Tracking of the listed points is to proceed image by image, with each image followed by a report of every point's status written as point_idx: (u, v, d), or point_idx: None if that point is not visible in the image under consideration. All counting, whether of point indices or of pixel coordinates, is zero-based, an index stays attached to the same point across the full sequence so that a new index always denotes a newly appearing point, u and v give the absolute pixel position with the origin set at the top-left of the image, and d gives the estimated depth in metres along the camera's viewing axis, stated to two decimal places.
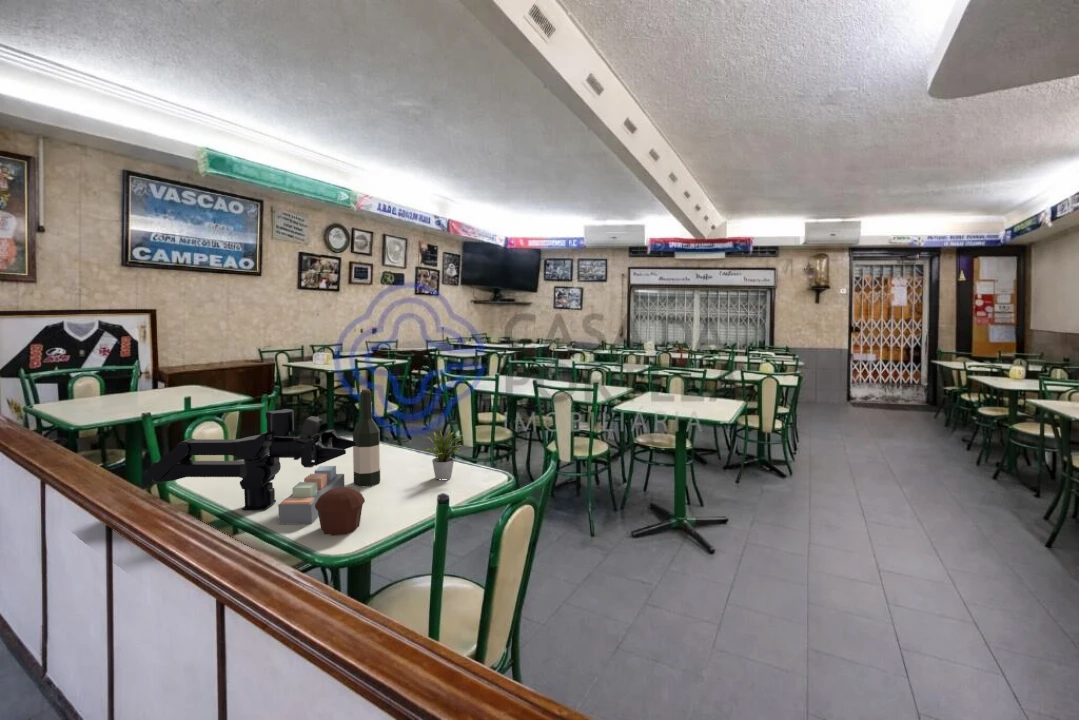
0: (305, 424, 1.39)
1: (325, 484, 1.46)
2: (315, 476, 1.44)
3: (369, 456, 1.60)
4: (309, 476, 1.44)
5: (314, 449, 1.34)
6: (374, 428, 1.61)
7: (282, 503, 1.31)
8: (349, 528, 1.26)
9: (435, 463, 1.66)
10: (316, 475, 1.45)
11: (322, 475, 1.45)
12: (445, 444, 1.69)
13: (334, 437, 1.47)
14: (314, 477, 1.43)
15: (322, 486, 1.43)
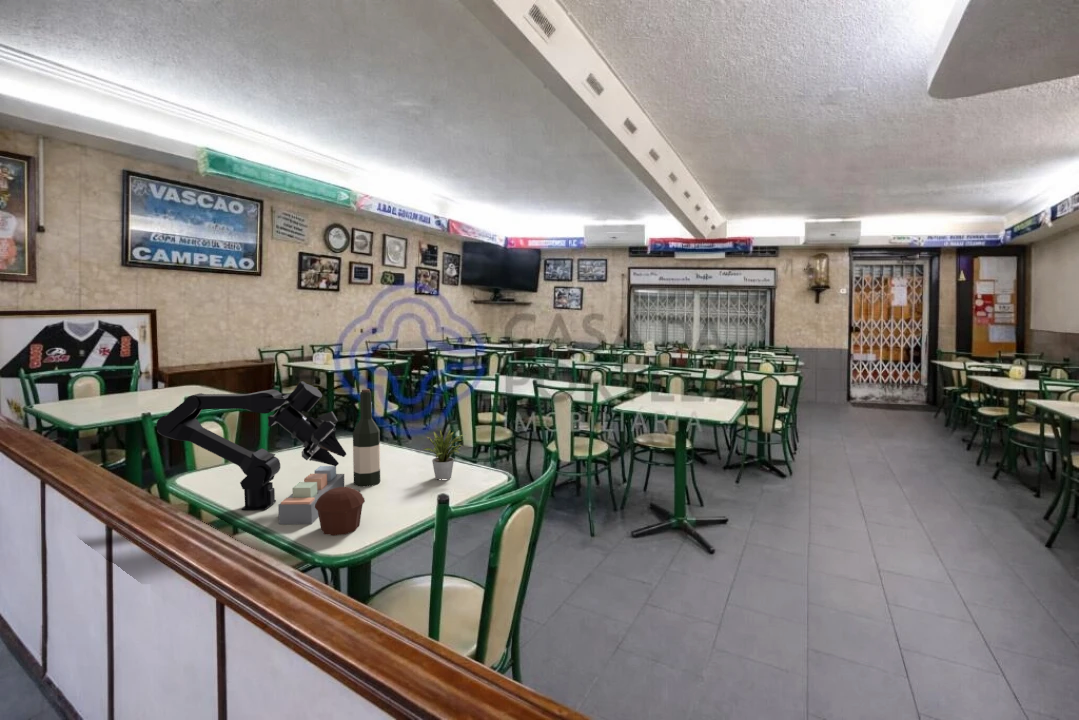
0: (328, 414, 1.45)
1: (325, 484, 1.46)
2: (315, 476, 1.44)
3: (369, 456, 1.60)
4: (309, 476, 1.44)
5: (332, 431, 1.38)
6: (374, 428, 1.61)
7: (282, 503, 1.31)
8: (349, 528, 1.26)
9: (435, 463, 1.66)
10: (316, 475, 1.45)
11: (322, 475, 1.45)
12: (445, 444, 1.69)
13: None
14: (314, 477, 1.43)
15: (322, 486, 1.43)
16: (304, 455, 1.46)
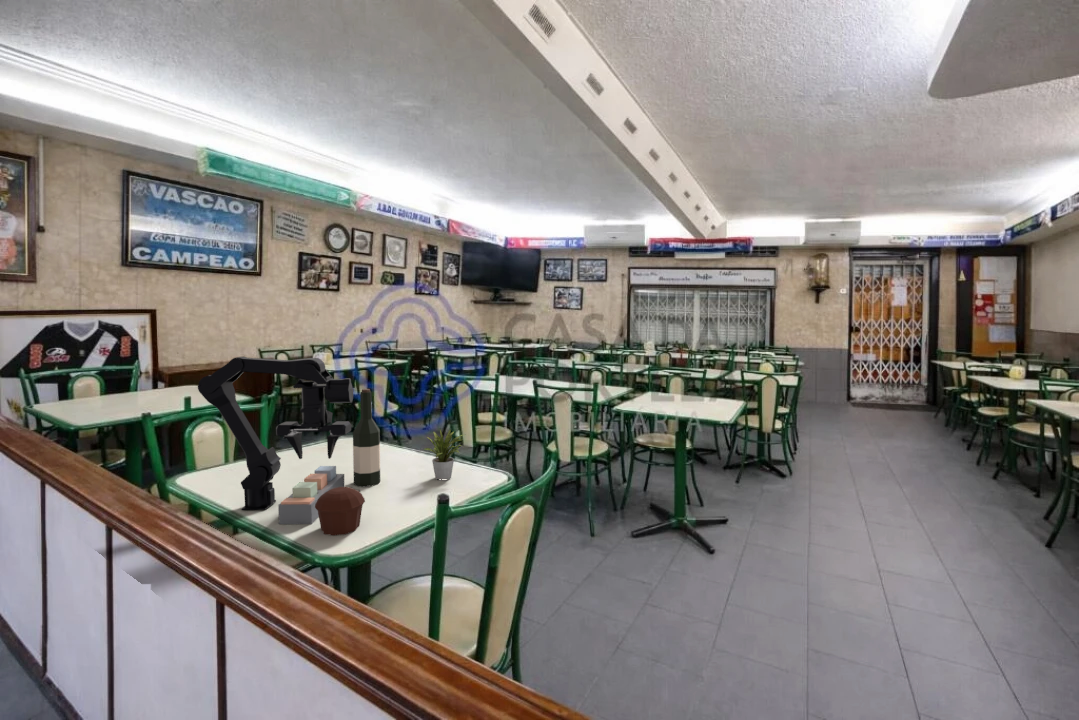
0: (331, 413, 1.50)
1: (325, 484, 1.46)
2: (315, 476, 1.44)
3: (369, 456, 1.60)
4: (309, 476, 1.44)
5: None
6: (375, 428, 1.61)
7: (282, 503, 1.31)
8: (349, 528, 1.26)
9: (435, 463, 1.66)
10: (316, 475, 1.45)
11: (322, 475, 1.45)
12: (445, 444, 1.69)
13: (300, 435, 1.45)
14: (314, 477, 1.43)
15: (322, 486, 1.43)
16: (285, 430, 1.40)
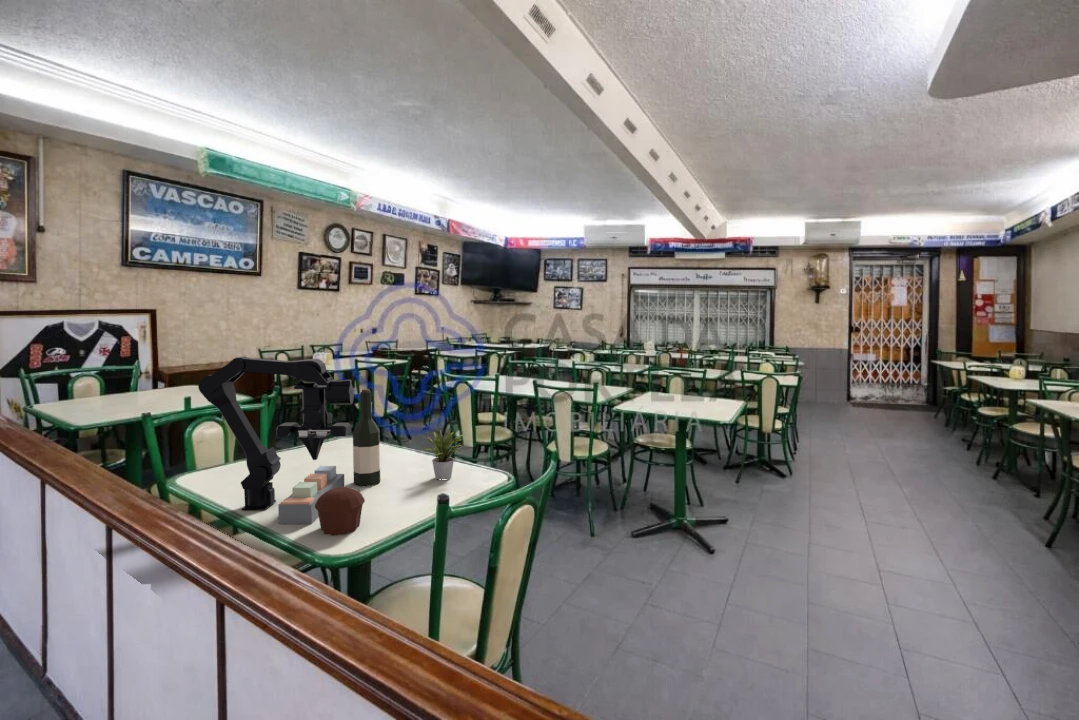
0: (331, 415, 1.50)
1: (325, 484, 1.46)
2: (315, 476, 1.44)
3: (369, 456, 1.60)
4: (309, 476, 1.44)
5: (329, 434, 1.45)
6: (374, 428, 1.61)
7: (282, 503, 1.31)
8: (349, 528, 1.26)
9: (435, 463, 1.66)
10: (316, 475, 1.45)
11: (322, 475, 1.45)
12: (445, 444, 1.69)
13: (314, 436, 1.45)
14: (314, 477, 1.43)
15: (322, 486, 1.43)
16: (285, 431, 1.40)
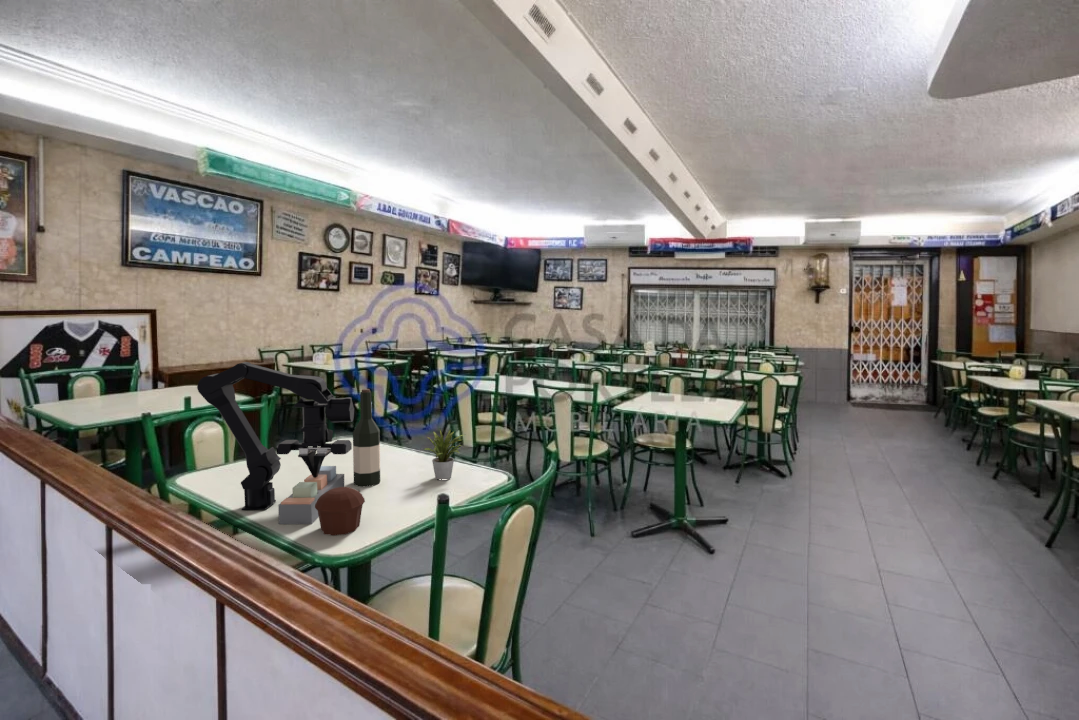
0: (332, 431, 1.50)
1: (325, 485, 1.46)
2: (315, 477, 1.44)
3: (369, 456, 1.60)
4: (309, 477, 1.44)
5: (329, 451, 1.46)
6: (374, 428, 1.61)
7: (282, 503, 1.31)
8: (349, 528, 1.26)
9: (435, 463, 1.66)
10: None
11: (322, 476, 1.45)
12: (445, 444, 1.69)
13: (314, 453, 1.45)
14: (314, 478, 1.43)
15: (322, 487, 1.43)
16: (285, 449, 1.40)
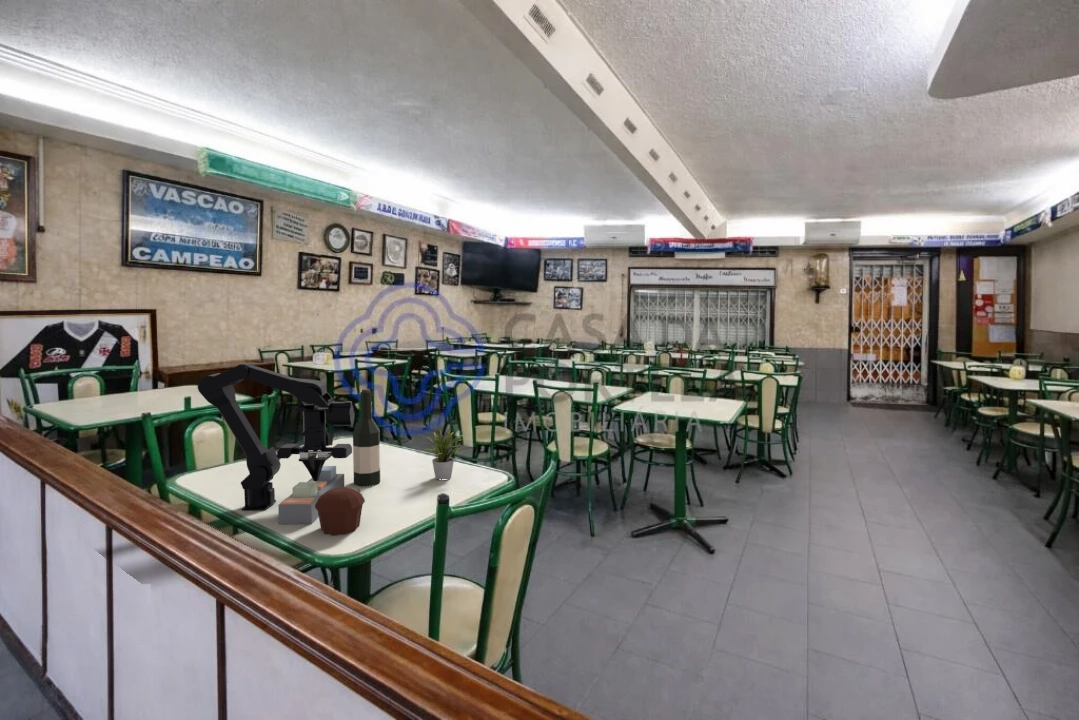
0: (332, 435, 1.51)
1: None
2: None
3: (369, 456, 1.60)
4: None
5: (330, 455, 1.46)
6: (375, 428, 1.61)
7: (282, 503, 1.31)
8: (349, 528, 1.26)
9: (435, 463, 1.66)
10: None
11: (323, 483, 1.45)
12: (445, 444, 1.69)
13: (315, 457, 1.46)
14: None
15: None
16: (286, 453, 1.40)
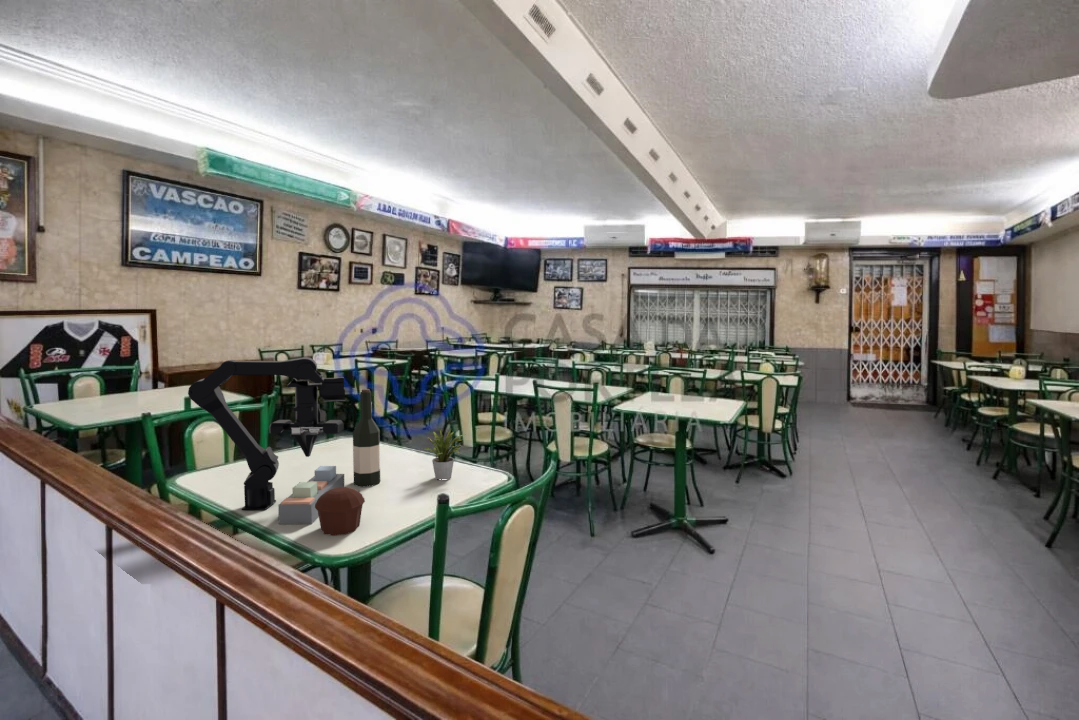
0: (324, 412, 1.52)
1: None
2: None
3: (369, 456, 1.60)
4: None
5: (322, 431, 1.47)
6: (374, 428, 1.61)
7: (282, 503, 1.31)
8: (349, 528, 1.26)
9: (435, 463, 1.66)
10: None
11: (323, 483, 1.45)
12: (445, 444, 1.69)
13: (307, 433, 1.47)
14: None
15: None
16: (278, 428, 1.42)
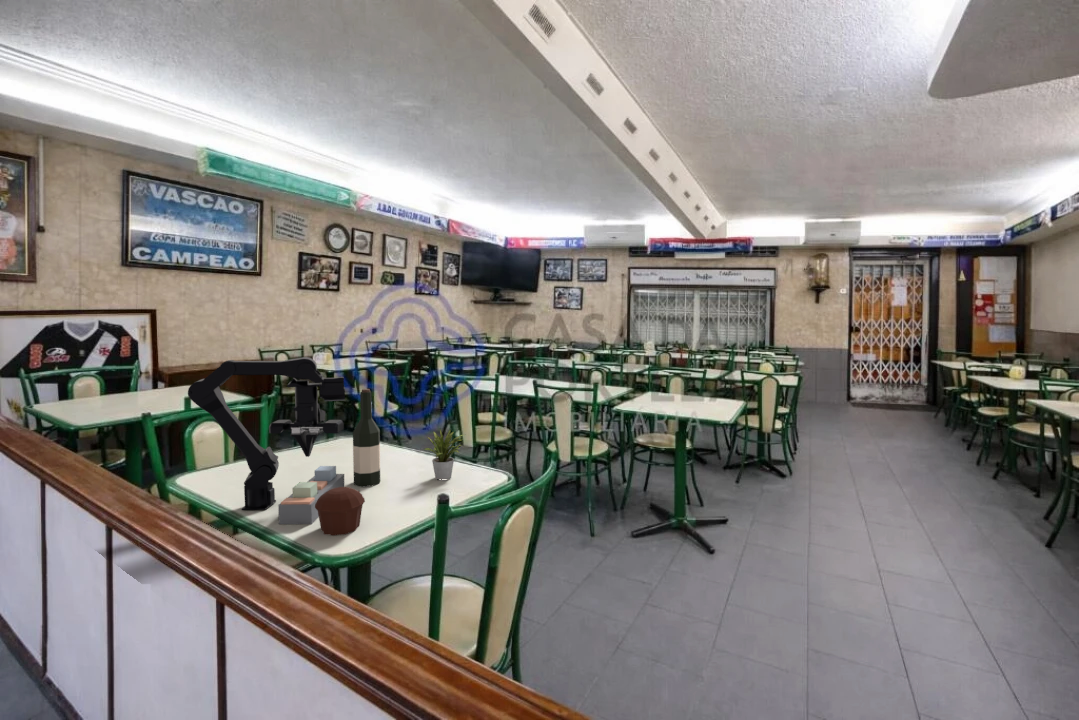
0: (324, 412, 1.52)
1: None
2: None
3: (369, 456, 1.60)
4: None
5: (322, 431, 1.47)
6: (374, 428, 1.61)
7: (282, 503, 1.31)
8: (349, 528, 1.26)
9: (435, 463, 1.66)
10: None
11: (323, 483, 1.45)
12: (445, 444, 1.69)
13: (307, 433, 1.47)
14: None
15: None
16: (278, 428, 1.42)
